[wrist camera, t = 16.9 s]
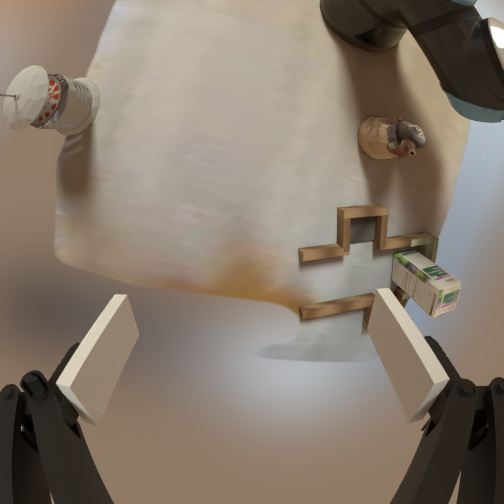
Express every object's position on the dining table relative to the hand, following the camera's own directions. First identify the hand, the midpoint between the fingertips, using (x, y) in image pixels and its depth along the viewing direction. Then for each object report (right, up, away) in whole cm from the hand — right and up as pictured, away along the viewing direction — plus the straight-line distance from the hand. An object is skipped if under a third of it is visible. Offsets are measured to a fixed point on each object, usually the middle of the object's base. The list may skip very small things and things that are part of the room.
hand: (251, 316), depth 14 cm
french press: (-29, +27, +18) cm, 43 cm away
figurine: (+20, +22, +25) cm, 39 cm away
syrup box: (+30, +1, +35) cm, 46 cm away
